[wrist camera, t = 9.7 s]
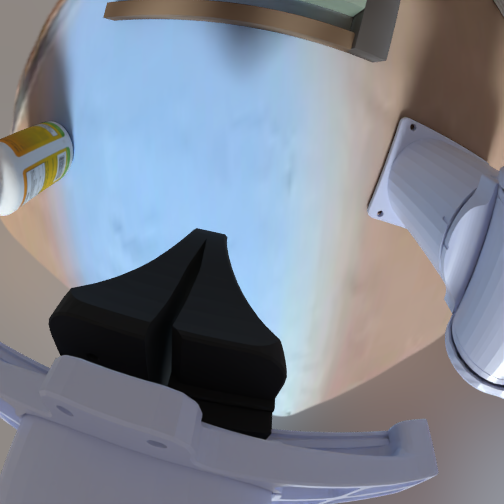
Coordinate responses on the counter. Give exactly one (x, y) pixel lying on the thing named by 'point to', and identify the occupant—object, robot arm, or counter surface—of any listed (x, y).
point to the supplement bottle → (32, 163)
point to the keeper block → (341, 5)
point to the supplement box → (500, 5)
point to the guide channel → (277, 22)
